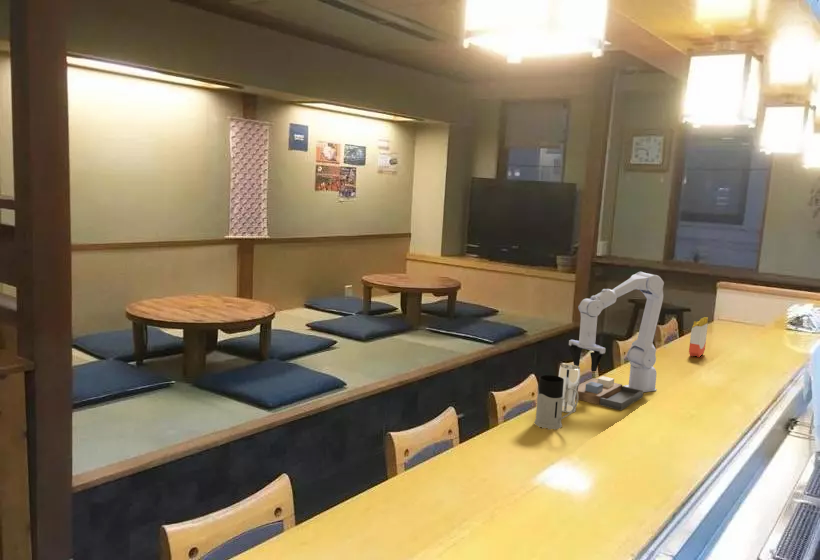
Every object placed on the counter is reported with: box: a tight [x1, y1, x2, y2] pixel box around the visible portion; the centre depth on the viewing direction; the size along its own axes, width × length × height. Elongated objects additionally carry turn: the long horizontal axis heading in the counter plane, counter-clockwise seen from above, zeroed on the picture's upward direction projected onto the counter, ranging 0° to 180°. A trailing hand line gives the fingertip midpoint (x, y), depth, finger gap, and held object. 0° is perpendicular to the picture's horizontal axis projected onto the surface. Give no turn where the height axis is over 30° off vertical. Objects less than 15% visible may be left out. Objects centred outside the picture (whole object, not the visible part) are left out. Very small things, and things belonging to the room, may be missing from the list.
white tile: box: [597, 375, 615, 388], centre depth 251 cm, size 4×4×2 cm
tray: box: [599, 385, 644, 411], centre depth 243 cm, size 8×20×2 cm, turn 141°
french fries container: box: [688, 316, 709, 358], centre depth 314 cm, size 5×11×18 cm, turn 142°
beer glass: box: [558, 363, 581, 414], centre depth 230 cm, size 7×7×15 cm
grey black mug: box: [533, 374, 579, 430], centre depth 213 cm, size 9×14×15 cm, turn 44°
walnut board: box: [576, 377, 623, 406], centre depth 249 cm, size 12×20×3 cm, turn 141°
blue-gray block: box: [585, 382, 603, 394], centre depth 243 cm, size 4×4×2 cm
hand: (585, 368), depth 250 cm, fingers open, 7 cm apart
